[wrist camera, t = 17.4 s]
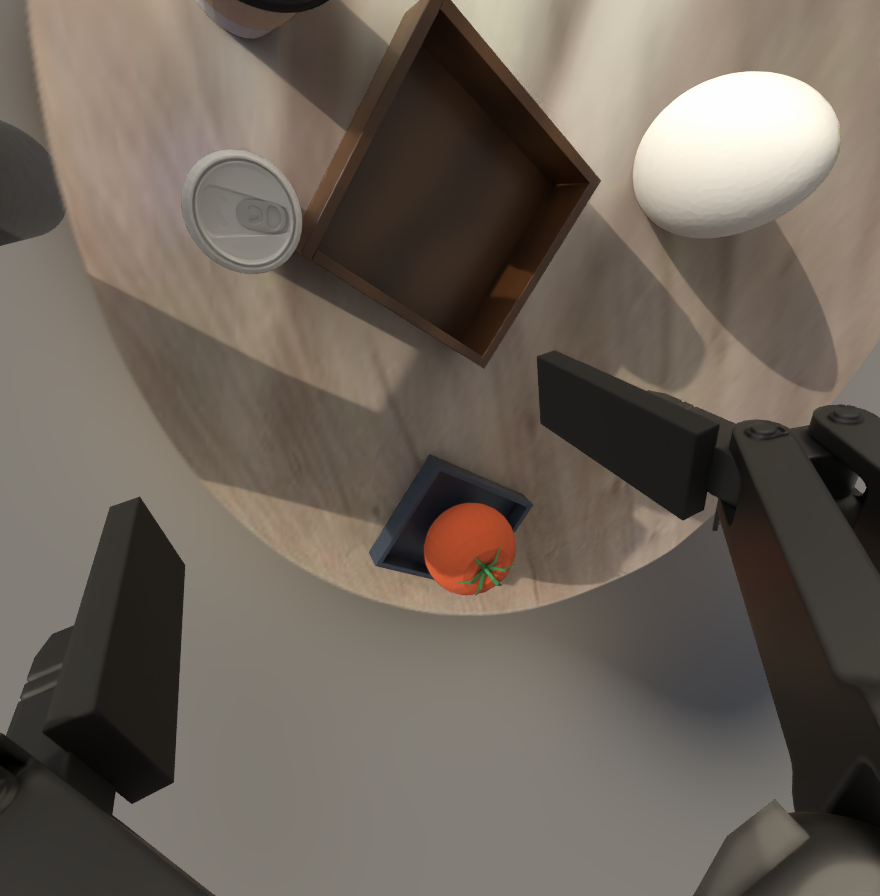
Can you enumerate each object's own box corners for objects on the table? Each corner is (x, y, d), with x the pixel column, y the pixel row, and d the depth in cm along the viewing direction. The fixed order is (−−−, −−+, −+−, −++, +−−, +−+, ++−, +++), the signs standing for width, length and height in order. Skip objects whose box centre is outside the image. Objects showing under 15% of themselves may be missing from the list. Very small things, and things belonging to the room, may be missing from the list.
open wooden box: (288, 246, 35) (300, 253, 31) (405, 12, 32) (437, -17, 28) (457, 351, 45) (484, 368, 41) (560, 182, 42) (601, 180, 38)
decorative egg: (695, 229, 51) (848, 240, 39) (606, 238, 46) (747, 253, 34) (725, 88, 44) (917, 49, 32) (626, 85, 40) (804, 38, 28)
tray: (368, 552, 52) (375, 566, 50) (429, 454, 49) (438, 464, 47) (466, 576, 60) (475, 589, 59) (522, 494, 58) (533, 504, 56)
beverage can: (193, 242, 33) (186, 271, 21) (185, 157, 30) (173, 134, 18) (270, 250, 35) (305, 281, 23) (268, 171, 33) (305, 159, 21)
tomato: (407, 501, 50) (445, 559, 42) (489, 475, 54) (539, 525, 46) (414, 570, 55) (450, 633, 47) (489, 543, 59) (534, 598, 51)
